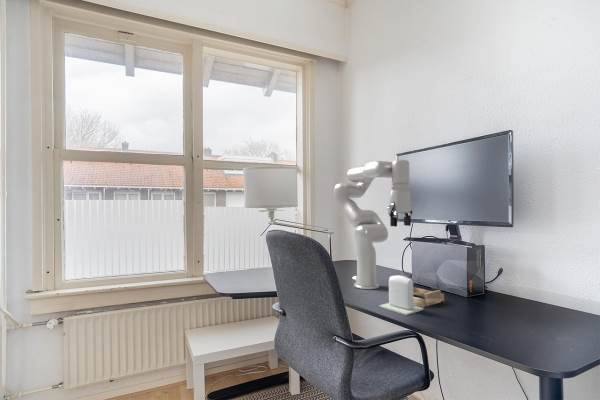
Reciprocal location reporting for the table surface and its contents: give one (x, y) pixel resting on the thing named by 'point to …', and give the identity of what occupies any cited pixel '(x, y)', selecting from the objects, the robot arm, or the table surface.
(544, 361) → the table surface
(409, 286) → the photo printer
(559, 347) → the table surface
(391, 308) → the green mat
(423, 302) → the tray
